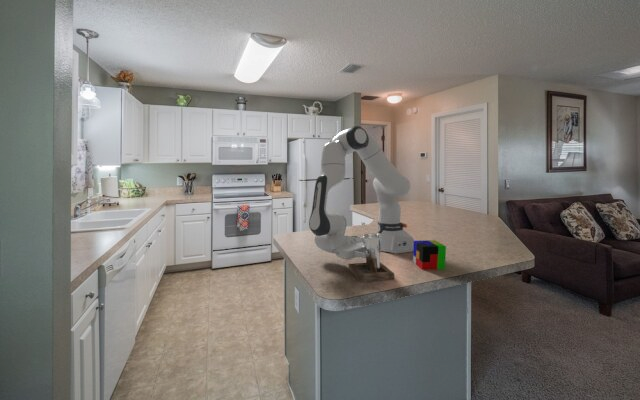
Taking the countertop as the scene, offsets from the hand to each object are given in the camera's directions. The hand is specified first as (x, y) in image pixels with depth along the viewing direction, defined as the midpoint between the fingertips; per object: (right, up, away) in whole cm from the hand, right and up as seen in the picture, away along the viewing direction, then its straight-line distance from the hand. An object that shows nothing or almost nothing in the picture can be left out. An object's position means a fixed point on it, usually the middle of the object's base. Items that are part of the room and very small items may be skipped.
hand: (372, 253), depth 122 cm
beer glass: (+1, -8, +3) cm, 8 cm away
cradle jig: (-1, -9, +2) cm, 9 cm away
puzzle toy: (+27, -8, +13) cm, 30 cm away
